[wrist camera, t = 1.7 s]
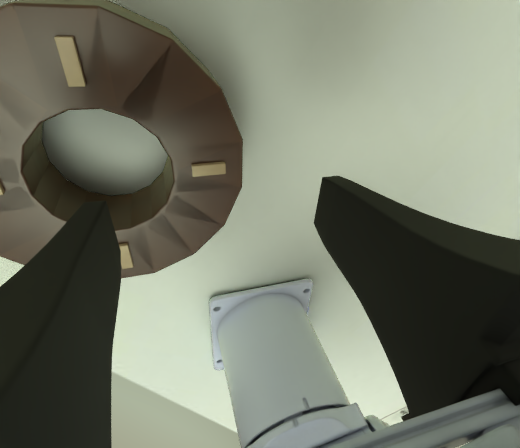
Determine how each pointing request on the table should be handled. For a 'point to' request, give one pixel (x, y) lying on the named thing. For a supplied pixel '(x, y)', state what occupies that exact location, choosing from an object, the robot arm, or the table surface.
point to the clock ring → (120, 102)
